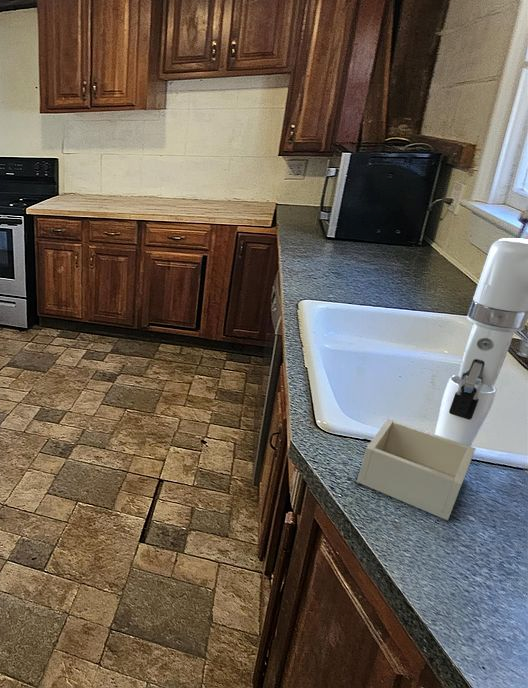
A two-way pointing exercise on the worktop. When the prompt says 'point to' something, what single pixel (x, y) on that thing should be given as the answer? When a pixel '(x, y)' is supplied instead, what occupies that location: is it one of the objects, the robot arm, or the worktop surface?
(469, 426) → the drinking glass
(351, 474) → the worktop surface
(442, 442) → the beige open box
